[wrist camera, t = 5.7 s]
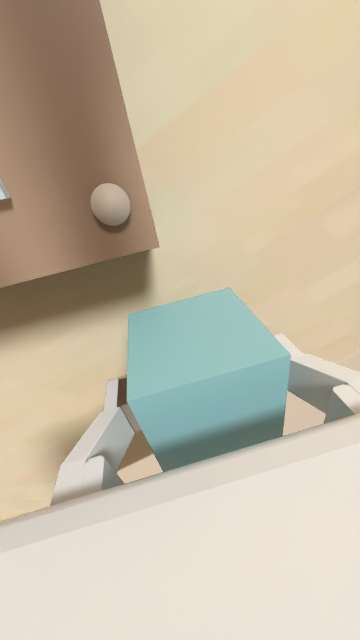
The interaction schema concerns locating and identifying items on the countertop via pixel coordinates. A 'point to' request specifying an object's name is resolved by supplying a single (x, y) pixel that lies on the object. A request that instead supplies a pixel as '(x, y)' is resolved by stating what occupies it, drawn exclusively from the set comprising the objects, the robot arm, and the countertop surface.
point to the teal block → (205, 378)
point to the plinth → (64, 144)
